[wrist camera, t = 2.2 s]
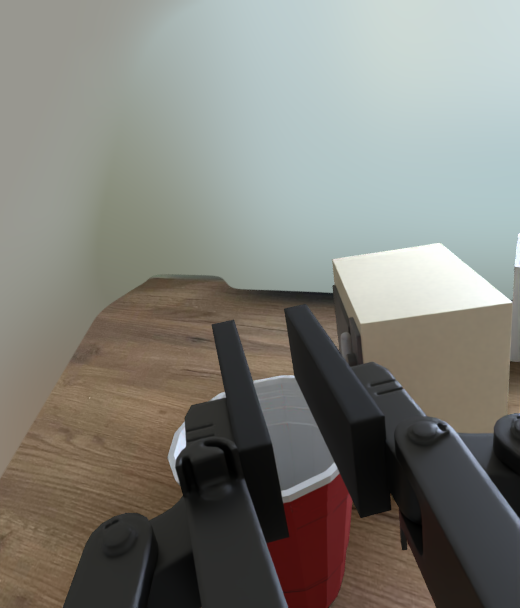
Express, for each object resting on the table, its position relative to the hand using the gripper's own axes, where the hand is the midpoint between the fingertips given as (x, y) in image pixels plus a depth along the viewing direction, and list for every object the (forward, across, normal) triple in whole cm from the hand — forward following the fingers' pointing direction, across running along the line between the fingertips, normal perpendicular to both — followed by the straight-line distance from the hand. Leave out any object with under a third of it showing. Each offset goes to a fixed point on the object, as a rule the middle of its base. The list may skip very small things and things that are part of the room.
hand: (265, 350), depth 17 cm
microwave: (+19, +14, -20) cm, 31 cm away
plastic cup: (+7, 0, -20) cm, 21 cm away
